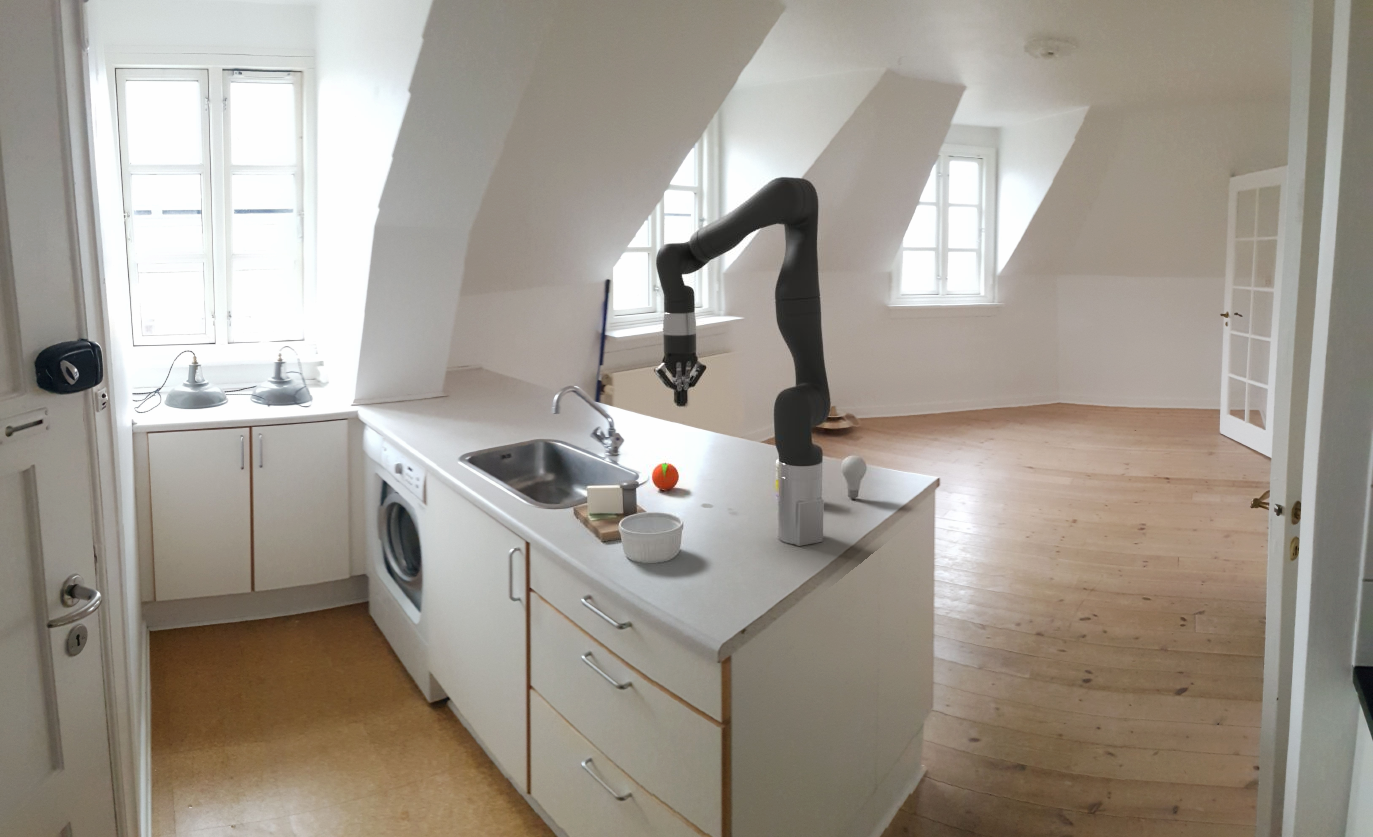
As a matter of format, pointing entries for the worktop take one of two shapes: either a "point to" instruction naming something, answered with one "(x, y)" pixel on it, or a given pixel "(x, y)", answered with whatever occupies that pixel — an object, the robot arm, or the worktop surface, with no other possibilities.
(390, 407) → the worktop surface
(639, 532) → the ramekin
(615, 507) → the knob
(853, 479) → the lightbulb
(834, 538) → the worktop surface
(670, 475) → the clementine
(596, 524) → the board
